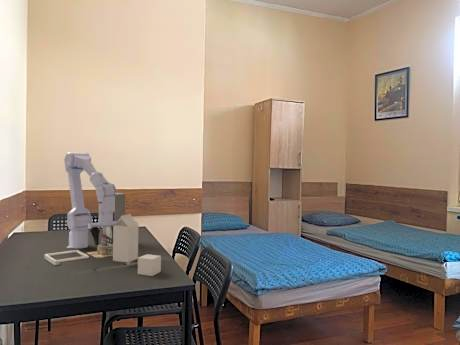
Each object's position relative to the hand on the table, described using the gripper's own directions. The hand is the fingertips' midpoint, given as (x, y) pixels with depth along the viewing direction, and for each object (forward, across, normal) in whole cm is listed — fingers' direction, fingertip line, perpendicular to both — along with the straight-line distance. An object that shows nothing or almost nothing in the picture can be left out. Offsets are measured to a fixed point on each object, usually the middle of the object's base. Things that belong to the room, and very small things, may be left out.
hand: (105, 243), depth 164 cm
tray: (+5, -15, +3) cm, 16 cm away
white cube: (+6, +2, -34) cm, 34 cm away
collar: (+4, 0, 0) cm, 4 cm away
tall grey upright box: (+5, +12, +19) cm, 23 cm away
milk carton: (+5, +2, -15) cm, 16 cm away
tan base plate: (+5, 0, 0) cm, 5 cm away
